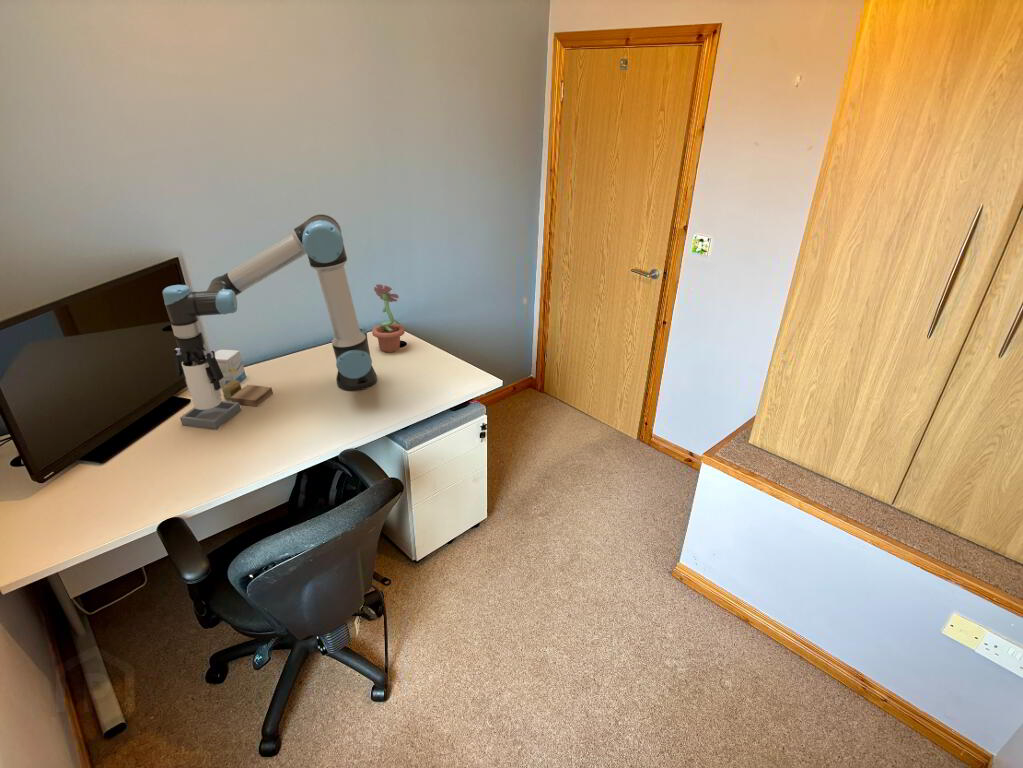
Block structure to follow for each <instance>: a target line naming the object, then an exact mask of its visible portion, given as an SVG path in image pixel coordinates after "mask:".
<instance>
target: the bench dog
mask: <svg viewBox="0 0 1023 768" xmlns="http://www.w3.org/2000/svg"><path fill="white" fill-rule="evenodd" d="M241 389H242V385H241V382H240V381H239V380H231V381H230V382H228V383H227V384H225V385H224V386H221V390H222V394H223V398H224V400H225V401H231V399H230V397H232V396H233V395H234V394H236V393H237V392H238V391H240V390H241Z"/></svg>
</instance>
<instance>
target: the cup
mask: <svg viewBox="0 0 1023 768" xmlns="http://www.w3.org/2000/svg"><path fill="white" fill-rule="evenodd" d="M201 361H203V360H201ZM182 367H183V371H184V374H185V377H186V381H187V384H188V387H189V390H190V393H189V395H190V394H191V397H190V398H191V399H192V403H193V406H194V407H195V408H196V409H199V410H206V409H211V408H214V407H216V406H218V405H219V404H220V403H221V401H222V398H221V397H220V398H218V399H217V400H214V397H213V394H212V390H211V387H210V383H209V382H211V380H210V379H209V377H208V376H207V372H206V369H205V368H208V367H209V364H208V362H206V363H204V364H202V365H198V364H197V362H194V361H193V363H192V366H185V365H184V362H182ZM188 387H187V388H188ZM189 390H188V391H189ZM194 407H193V408H194Z"/></svg>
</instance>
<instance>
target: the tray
mask: <svg viewBox="0 0 1023 768" xmlns="http://www.w3.org/2000/svg"><path fill="white" fill-rule="evenodd" d="M240 411H242V408H241V405H240V403H238V402H231V401H230V400H221V403H220V404H219V405H218V406H216V407H214V408H211V409H206V410H199V409H196V408H195V407H193V408H192V409H190V410H189V411H187V412H186V413H183V415H181V416H180V417H179V420H180V422H181V426H185V427H193V428H194V427H195V428H201V429H202V428H203V429H208V430H209V429H210V430H214V431H215V430H218V429H219V428H221V427H222V426H224V425H225V424H226V423H227V422H229V420H231V419H232V418H233V417H234V416H236V415H237V414H239V413H240Z"/></svg>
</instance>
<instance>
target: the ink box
mask: <svg viewBox="0 0 1023 768" xmlns="http://www.w3.org/2000/svg"><path fill="white" fill-rule="evenodd" d="M214 352H215V358H216V360H217V363H218V365H219V367H220V370H221V372H222V374H223V376H224V378H222V379H221V380H219V383H220V387H223V386H224V385H225V384H227V383H228V382H230V381H231V380H239V381H240V383H241V382H242V381H244V380H245V378H247V375H246V372H245V366H244V363H243V359H242V355H241V352H240V350H234V349H218V350H217V351H214Z"/></svg>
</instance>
